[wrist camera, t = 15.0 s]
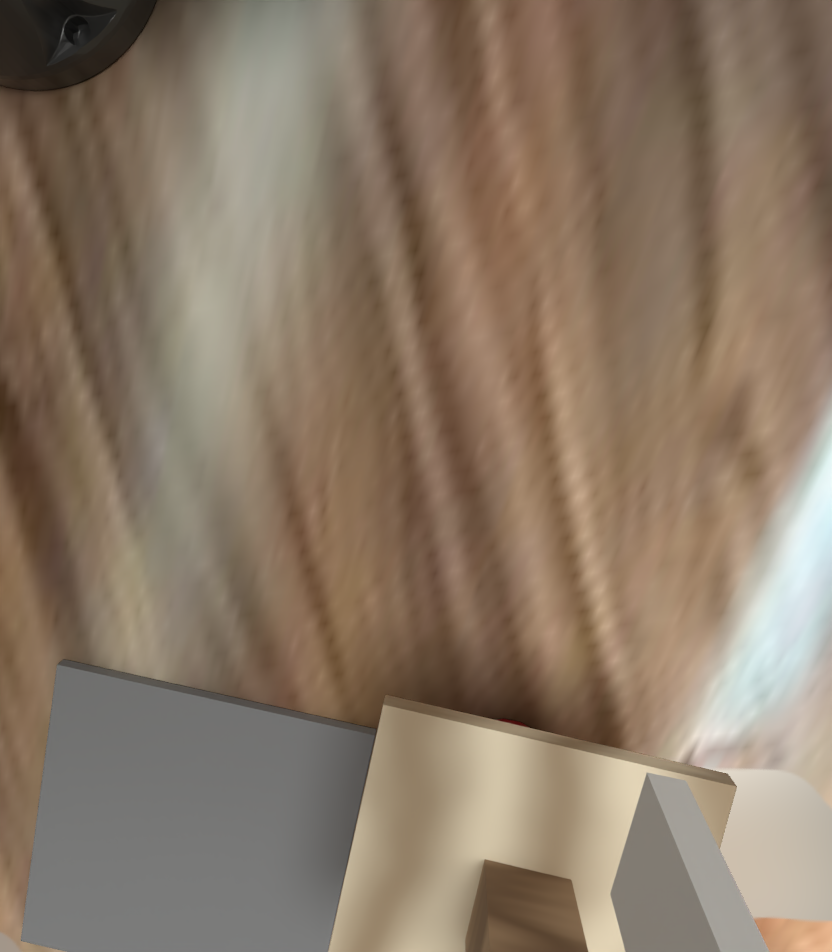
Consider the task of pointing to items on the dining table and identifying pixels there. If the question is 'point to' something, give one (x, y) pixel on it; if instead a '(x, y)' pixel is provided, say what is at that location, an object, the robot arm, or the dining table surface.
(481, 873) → the lid
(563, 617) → the dining table surface
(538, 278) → the dining table surface
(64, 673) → the mat
